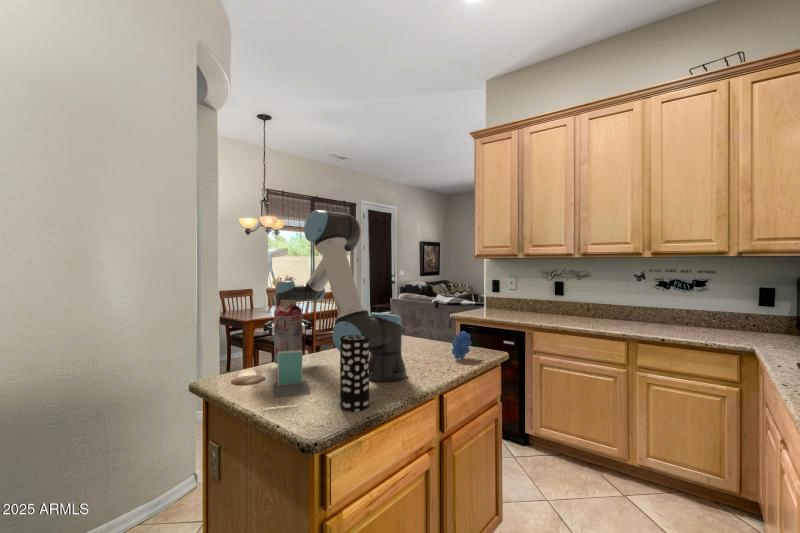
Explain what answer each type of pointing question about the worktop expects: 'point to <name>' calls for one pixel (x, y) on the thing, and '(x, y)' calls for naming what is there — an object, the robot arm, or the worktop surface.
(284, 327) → the juice carton
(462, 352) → the grapes
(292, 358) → the tile
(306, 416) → the worktop surface
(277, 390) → the mat
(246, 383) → the coaster
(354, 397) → the spotted tube
